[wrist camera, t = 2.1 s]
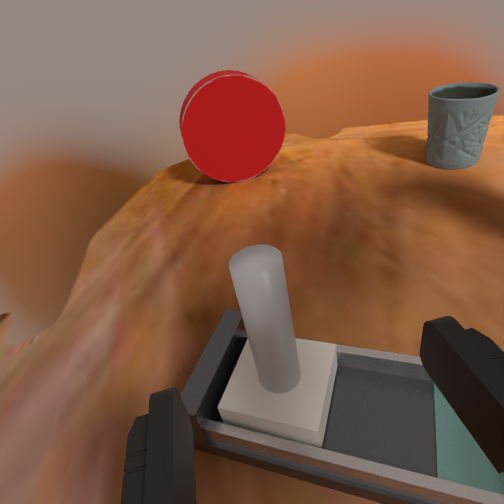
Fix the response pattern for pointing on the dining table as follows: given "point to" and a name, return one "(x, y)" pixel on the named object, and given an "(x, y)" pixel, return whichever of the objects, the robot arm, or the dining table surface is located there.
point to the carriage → (275, 358)
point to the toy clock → (232, 126)
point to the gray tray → (353, 429)
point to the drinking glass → (458, 123)
